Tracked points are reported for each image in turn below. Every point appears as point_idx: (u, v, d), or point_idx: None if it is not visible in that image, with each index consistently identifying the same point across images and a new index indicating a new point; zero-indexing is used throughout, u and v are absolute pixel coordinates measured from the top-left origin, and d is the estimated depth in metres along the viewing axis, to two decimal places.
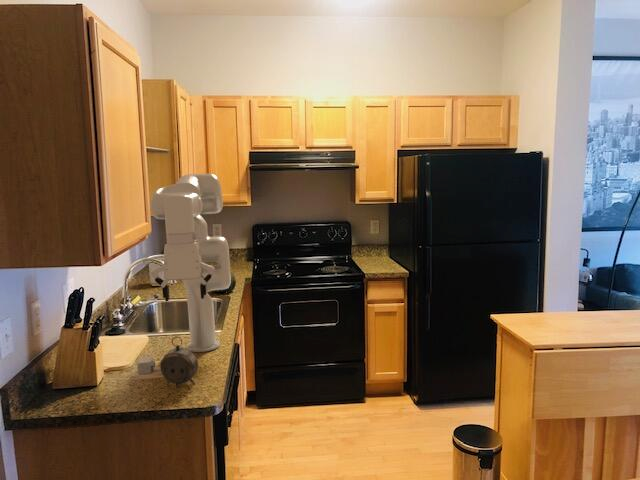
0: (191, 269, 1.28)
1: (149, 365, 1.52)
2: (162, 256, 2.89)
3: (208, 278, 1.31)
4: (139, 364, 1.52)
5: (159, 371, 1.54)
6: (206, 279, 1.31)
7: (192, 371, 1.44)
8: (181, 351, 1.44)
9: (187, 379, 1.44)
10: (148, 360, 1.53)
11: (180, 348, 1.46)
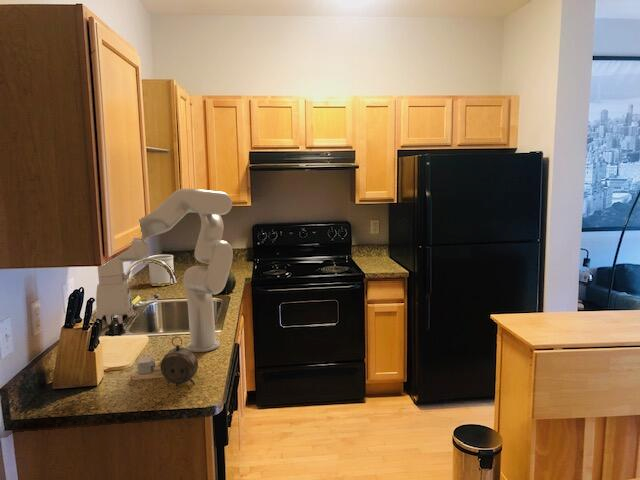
0: (120, 306, 1.48)
1: (149, 365, 1.52)
2: (162, 256, 2.89)
3: (124, 318, 1.50)
4: (139, 364, 1.52)
5: (159, 371, 1.54)
6: None
7: (192, 371, 1.44)
8: (181, 351, 1.44)
9: (187, 379, 1.44)
10: (148, 360, 1.53)
11: (180, 348, 1.46)
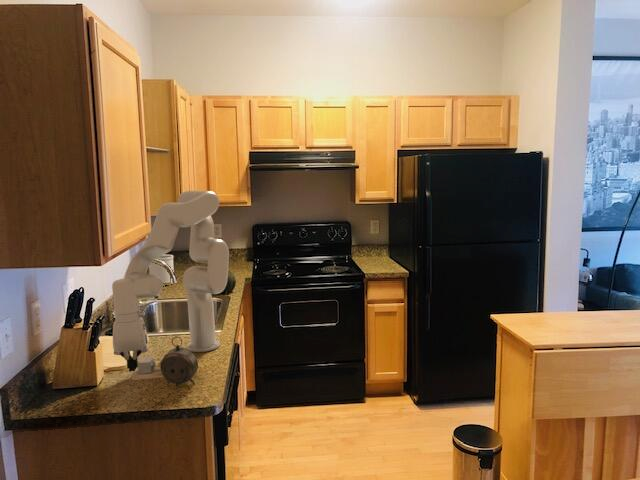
0: (136, 342, 1.51)
1: (149, 365, 1.52)
2: (162, 256, 2.89)
3: (138, 354, 1.53)
4: (139, 364, 1.52)
5: (159, 371, 1.54)
6: None
7: (192, 371, 1.44)
8: (181, 351, 1.44)
9: (187, 379, 1.44)
10: (148, 360, 1.53)
11: (180, 348, 1.46)
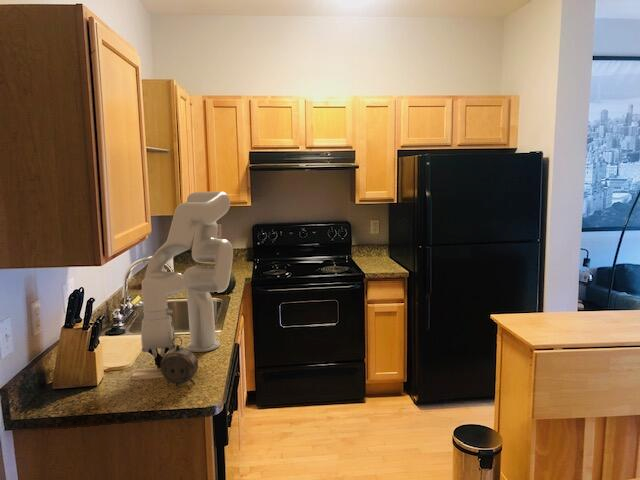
0: (164, 340, 1.52)
1: None
2: None
3: (166, 351, 1.54)
4: None
5: (159, 371, 1.54)
6: None
7: (192, 371, 1.44)
8: (181, 351, 1.44)
9: (187, 379, 1.44)
10: None
11: (180, 348, 1.46)
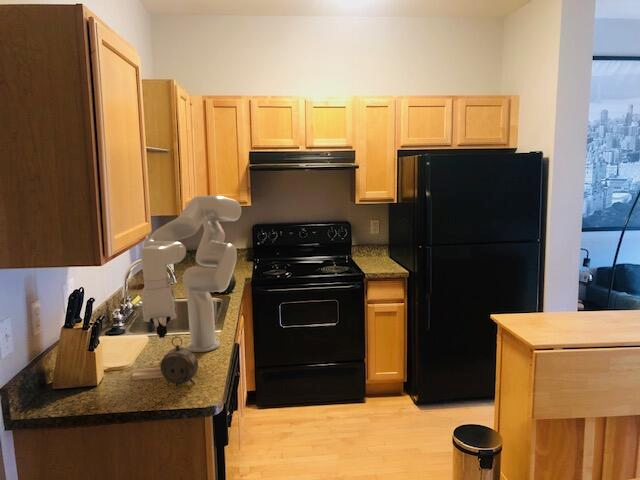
0: (166, 309, 1.51)
1: None
2: None
3: (167, 320, 1.53)
4: None
5: (159, 371, 1.54)
6: None
7: (192, 371, 1.44)
8: (180, 351, 1.44)
9: (187, 379, 1.44)
10: None
11: (180, 348, 1.46)
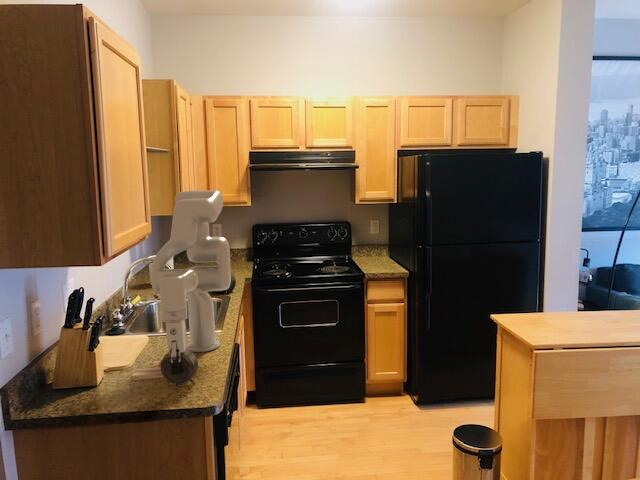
0: None
1: None
2: None
3: None
4: None
5: (159, 371, 1.54)
6: None
7: (192, 371, 1.44)
8: None
9: (187, 379, 1.44)
10: None
11: None
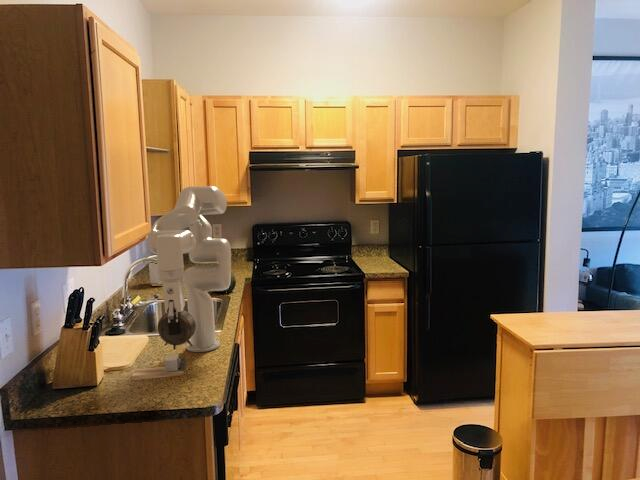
0: None
1: (176, 362, 1.54)
2: None
3: None
4: (166, 361, 1.53)
5: (159, 371, 1.54)
6: (170, 320, 1.39)
7: (190, 332, 1.42)
8: None
9: (185, 340, 1.43)
10: (174, 357, 1.55)
11: None
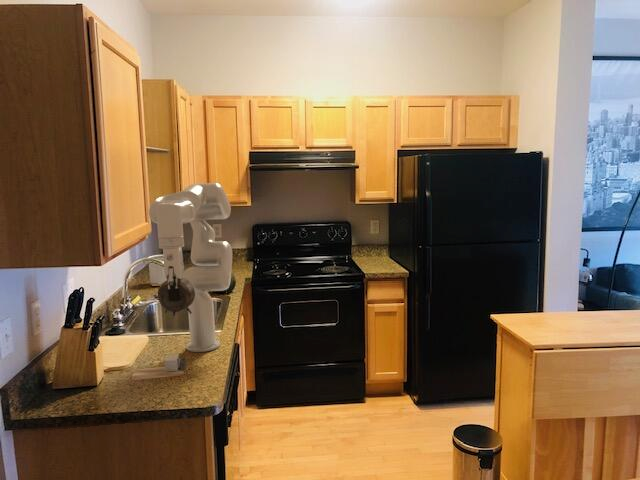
0: None
1: (176, 362, 1.54)
2: (162, 256, 2.89)
3: None
4: (166, 361, 1.53)
5: (159, 371, 1.54)
6: None
7: (189, 298, 1.46)
8: (178, 279, 1.46)
9: (184, 307, 1.46)
10: (174, 357, 1.55)
11: None
